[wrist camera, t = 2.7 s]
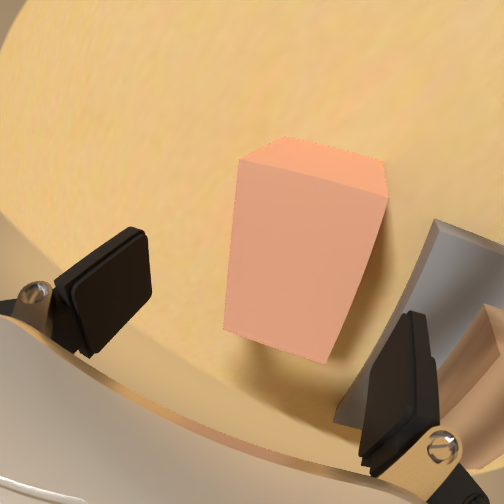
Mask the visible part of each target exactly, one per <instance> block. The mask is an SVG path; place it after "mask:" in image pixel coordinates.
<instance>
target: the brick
mask: <svg viewBox="0 0 504 504" xmlns="http://www.w3.org/2000/svg"><path fill="white" fill-rule="evenodd" d="M388 199H389V195H388V189H387V183H386V177H385V172H384V166H383V161H380V160H377V159H374V158H370V157H367V156H363V155H360V154H356V153H352V152H349V151H345V150H341V149H337V148H333V147H329V146H325V145H321V144H317V143H313V142H308V141H304V140H299V139H295V138H290V137H283V138H281V139H279V140H277V141H275V142H273V143H271V144H269V145H267V146H264V147H262V148H260V149H258V150H256V151H254V152H252V153H250V154H248V155H246V156H244V157H242V158H240V159H239V164H238V173H237V183H236V193H235V202H234V212H233V223H232V233H231V244H230V255H229V266H228V277H227V289H226V300H225V313H224V325H223V330H226V331H228V332H231V333H234V334H236V335H239V336H242V337H245V338H247V339H250V340H253V341H256V342H258V343H261V344H264V345H267V346H270V347H273V348H275V349H278V350H281V351H284V352H287V353H290V354H293V355H296V356H299V357H303V358H306V359H309V360H312V361H315V362H318V363H322V364H325V363H326V361H327V359H328V357H329V355H330V353H331V351H332V348H333V346H334V344H335V342H336V339H337V337H338V335H339V333H340V330H341V328H342V326H343V323H344V321H345V319H346V316H347V314H348V312H349V309H350V307H351V304H352V302H353V299H354V297H355V294H356V292H357V289H358V287H359V284H360V282H361V279H362V276H363V274H364V271H365V268H366V266H367V263H368V260H369V257H370V254H371V252H372V249H373V246H374V243H375V240H376V237H377V234H378V231H379V228H380V225H381V222H382V219H383V216H384V212H385V209H386V206H387V203H388Z"/></svg>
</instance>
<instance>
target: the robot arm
mask: <svg viewBox="0 0 504 504" xmlns="http://www.w3.org/2000/svg"><path fill="white" fill-rule="evenodd" d="M54 283H55V286H56V287H55V288H54V289H52V287H51V285H50V284H49V283H48V282H45V281H35V282H32V283H29V284H28V285H26V286H25V287H23V288H22V289H21V291H20V292H19V294H18V297H17V299H11V300H5V301H0V504H490V502H489V499H488V497H487V496H486V494H485V493H484V492H483V490H482V489H481V488H480V487H479V485H478V484H477V483H476V482H475V481H474V480H473V478H472V477H471V476H470V474H469V473H468V472H467V471H466V470H465V468H464V467H463V466H462V465H461V464H460V462H459V461H460V459H461V457H462V452H463V448H462V442H461V440H460V437H459V436H458V435H457V433H456V432H455V431H453V430H452V429H451V428H449V427H446V426H440V409H439V391H438V379H437V368H436V361H435V359H434V357H431V349H430V341H429V333H428V326H427V320H426V315H425V314H422V313H419V312H415V311H412V310H409V311H408V312H407V314H406V313H402V315H401V316H400V318H399V320H398V322H397V324H396V325H395V327H394V329H393V331H392V333H391V334H390V336H389V338H388V340H387V342H386V343H385V345H384V347H383V348H382V350H381V352H380V353H379V355H378V357H377V358H376V360H375V362H374V363H373V365H372V368H371V371H370V376H369V386H368V394H367V402H366V409H365V416H364V423H363V429H362V435H361V441H360V447H359V454H358V455H359V457H362V462H361V466H366V467H370V475H371V476H366V475H362V474H358V473H354V472H350V471H346V470H342V469H337V468H332V467H329V466H325V465H320V464H317V463H313V462H309V461H305V460H302V459H298V458H295V457H291V456H288V455H285V454H281V453H278V452H275V451H272V450H269V449H266V448H263V447H259V446H257V445H254V444H251V443H247V442H245V441H242V440H240V439H237V438H234V437H232V436H229V435H226V434H224V433H221V432H219V431H216V430H214V429H212V428H209V427H206V426H204V425H202V424H200V423H197V422H195V421H193V420H190V419H188V418H186V417H184V416H182V415H180V414H177V413H175V412H173V411H171V410H169V409H167V408H165V407H163V406H161V405H159V404H157V403H155V402H153V401H151V400H149V399H147V398H145V397H143V396H141V395H139V394H138V393H136V392H134V391H132V390H130V389H128V388H127V387H125V386H123V385H122V384H120V383H118V382H116V381H115V380H113V379H111V378H109V377H108V376H106V375H104V374H103V373H101V372H99V371H98V370H96V369H95V368H93V367H92V366H90V365H88V364H87V363H85V362H84V361H82V360H81V359H79V358H78V357H76V356H75V352H76V351H77V350H79V352H80V353H81V354H83V355H84V356H86V357H88V358H89V359H90V358H91V356H93V354H94V353H99V352H100V351H101V350H102V349H103V347H104V346H105V345H106V344H107V343H108V342H109V341H110V340H111V339H112V338H113V337H114V336H115V335H116V334H117V333H118V331H119V330H120V329H121V328H122V327H123V326H124V325H125V324H126V323H127V322H128V321H129V320H130V319H131V318H132V317H133V316H134V315H135V314H136V313H137V312H138V311H139V309H140V308H141V307H142V306H143V305H144V304H145V303H146V302H147V301H148V300H149V299H150V297H151V295H152V285H151V274H150V263H149V250H148V238H147V236H146V235H145V232H144V231H143V230H140V229H137V228H134V227H128V228H126V229H125V230H123V231H122V232H120V233H119V234H117V235H116V236H114V237H113V238H111V239H110V240H109V241H107V242H106V243H104V244H103V245H101V246H100V247H99V248H97V249H96V250H94V251H93V252H91V253H90V254H89V255H87V256H86V257H85V258H83V259H82V260H80V261H79V262H78V263H76V264H75V265H74V266H72V267H71V268H70V269H68V270H67V271H66V272H64V273H63V274H62V275H60V276H59V277H58V278H56V279H55V280H54Z"/></svg>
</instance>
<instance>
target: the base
mask: <svg viewBox="0 0 504 504" xmlns="http://www.w3.org/2000/svg"><path fill="white" fill-rule="evenodd" d="M409 310H412V311H415V312H419V313H422V314H425V315H426V320H427V326H428V333H429V341H430V349H431V357H434V359H435V361H436V368H437V379H438V391H439V409H440V426H446V427H449V428H451V429H452V430H453V431H455V432H456V433H457V435H458V436H459V437H460V440H461V442H462V448H463V452H462V457H461V459H460V461H459V462H460V464H461V465H462V466H463V467H464V468H465V469H482V468H483V467H485V466H486V465H488V464H489V463H491V462H492V461H494V460H495V459H496V458H498V457H499V456H501V455H502V454H503V453H504V246H503V245H501V244H498V243H496V242H493V241H491V240H489V239H486V238H484V237H481V236H479V235H476V234H474V233H471V232H469V231H466V230H463V229H461V228H458V227H456V226H453V225H450V224H447V223H445V222H442V221H439V220H436V219H434V221H433V223H432V226H431V229H430V231H429V234H428V236H427V239H426V242H425V244H424V246H423V249H422V251H421V254H420V256H419V258H418V261H417V263H416V265H415V268H414V270H413V272H412V274H411V277H410V279H409V281H408V283H407V285H406V288H405V290H404V292H403V294H402V296H401V298H400V300H399V302H398V304H397V306H396V308H395V310H394V312H393V314H392V316H391V318H390V320H389V322H388V324H387V326H386V327H385V329H384V331H383V333H382V335H381V337H380V338H379V340H378V342H377V344H376V346H375V347H374V349H373V351H372V353H371V354H370V356H369V358H368V359H367V361H366V363H365V365H364V366H363V368H362V369H361V371H360V373H359V374H358V376H357V378H356V379H355V381H354V382H353V384H352V386H351V387H350V389H349V390H348V392H347V393H346V395H345V396H344V398H343V399H342V401H341V402H340V404H339V405H338V407H337V408H336V412H335V416H334V420H333V422H334V423H338V424H341V425H345V426H349V427H353V428H357V429H363V423H364V416H365V409H366V402H367V394H368V386H369V376H370V371H371V368H372V365H373V363H374V362H375V360H376V358H377V357H378V355H379V353H380V352H381V350H382V348H383V347H384V345H385V343H386V342H387V340H388V338H389V336H390V334H391V333H392V331H393V329H394V327H395V325H396V324H397V322H398V320H399V318H400V316H401V315H402V313H406V314H407V312H408V311H409Z"/></svg>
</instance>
